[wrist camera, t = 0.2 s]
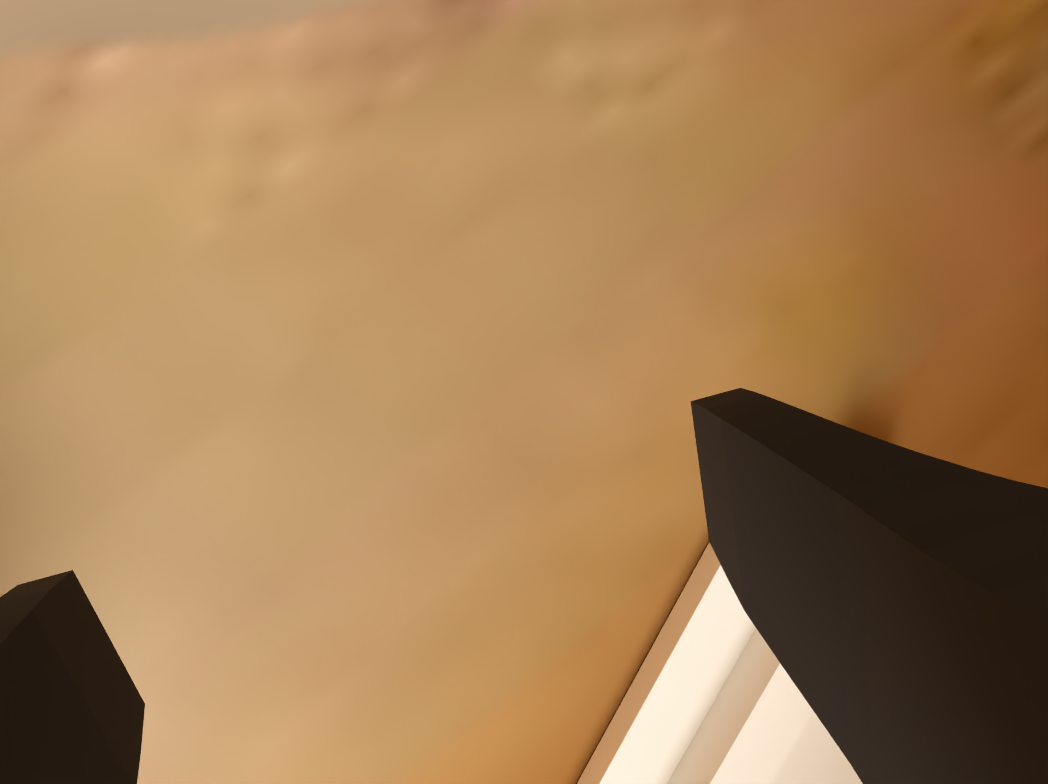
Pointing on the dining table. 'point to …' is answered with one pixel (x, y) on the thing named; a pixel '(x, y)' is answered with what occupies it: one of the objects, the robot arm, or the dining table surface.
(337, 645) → the dining table surface
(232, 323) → the dining table surface
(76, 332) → the dining table surface
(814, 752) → the bottle cradle
